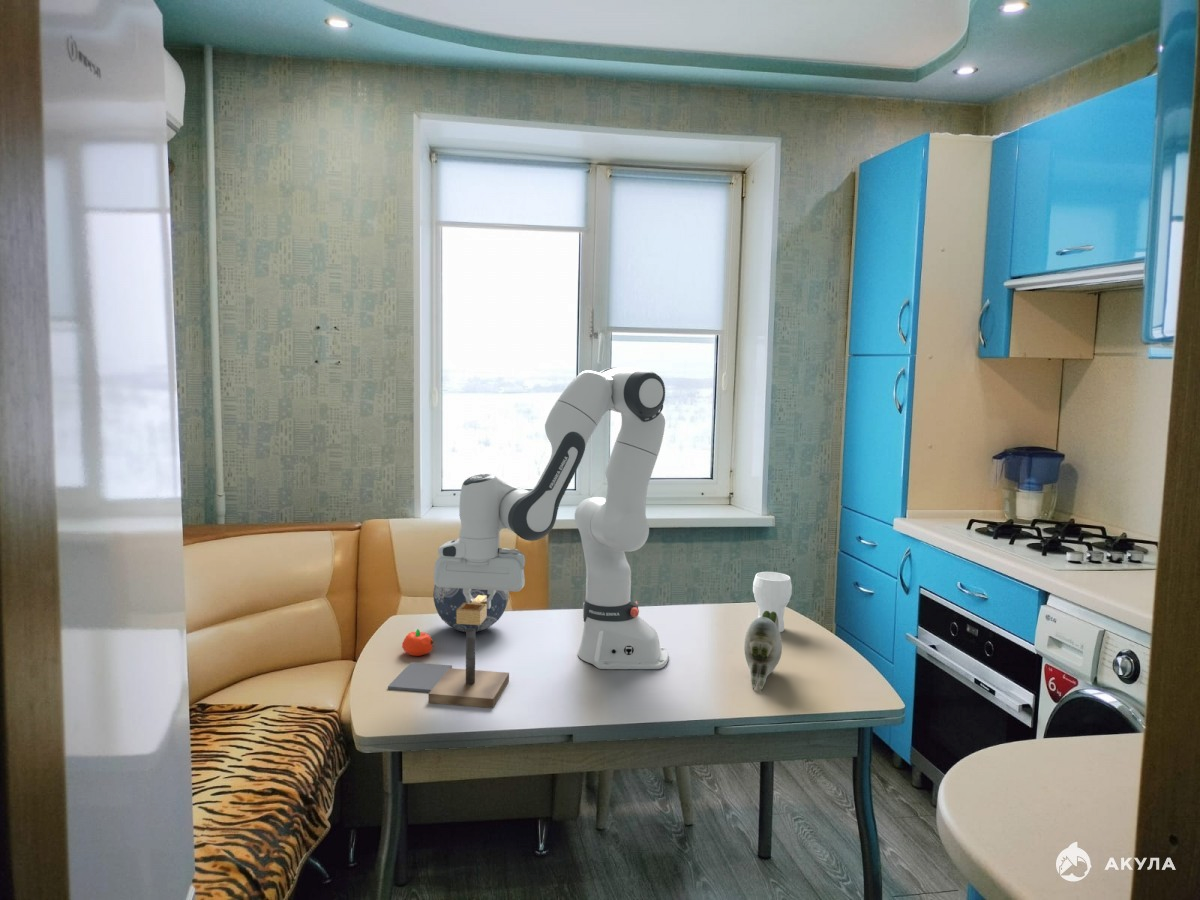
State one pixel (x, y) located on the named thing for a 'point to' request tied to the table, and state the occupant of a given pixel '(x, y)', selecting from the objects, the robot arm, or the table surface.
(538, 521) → the robot arm
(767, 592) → the cup
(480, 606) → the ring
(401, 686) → the mat
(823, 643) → the table surface
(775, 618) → the toy
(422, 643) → the pumpkin
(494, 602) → the decorative ball
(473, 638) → the stand
